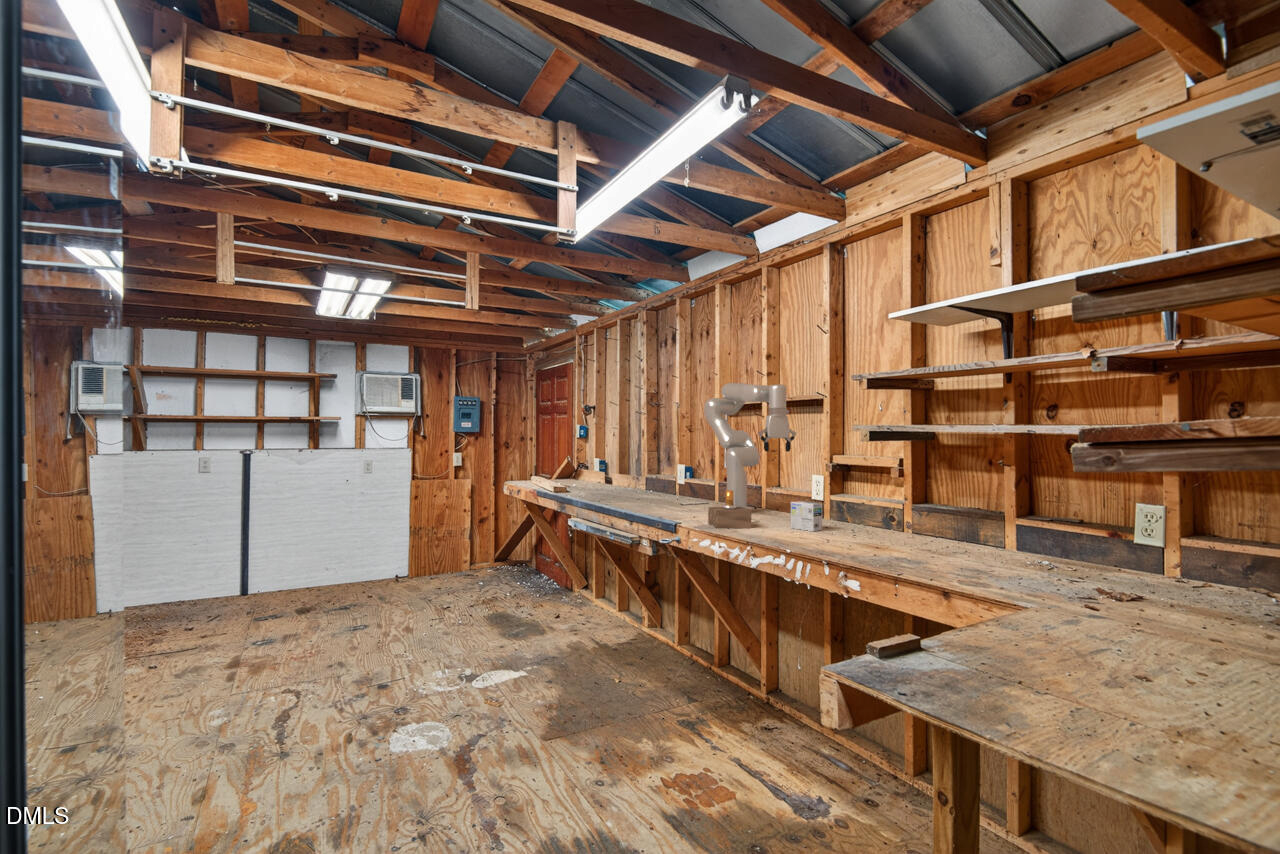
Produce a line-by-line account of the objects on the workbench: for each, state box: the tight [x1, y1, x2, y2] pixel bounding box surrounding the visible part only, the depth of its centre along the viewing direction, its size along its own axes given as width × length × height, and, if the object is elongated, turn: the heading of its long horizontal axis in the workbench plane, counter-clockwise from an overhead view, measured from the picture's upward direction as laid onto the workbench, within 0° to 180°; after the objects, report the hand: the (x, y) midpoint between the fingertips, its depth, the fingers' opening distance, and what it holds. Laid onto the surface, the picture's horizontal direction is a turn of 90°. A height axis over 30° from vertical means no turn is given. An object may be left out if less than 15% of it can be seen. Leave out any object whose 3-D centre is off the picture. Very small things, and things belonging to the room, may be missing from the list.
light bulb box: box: [790, 500, 823, 532], centre depth 236 cm, size 11×7×11 cm, turn 42°
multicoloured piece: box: [722, 489, 736, 510], centre depth 244 cm, size 6×6×14 cm
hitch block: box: [707, 506, 752, 529], centre depth 244 cm, size 14×14×7 cm
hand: (777, 451), depth 262 cm, fingers open, 9 cm apart
